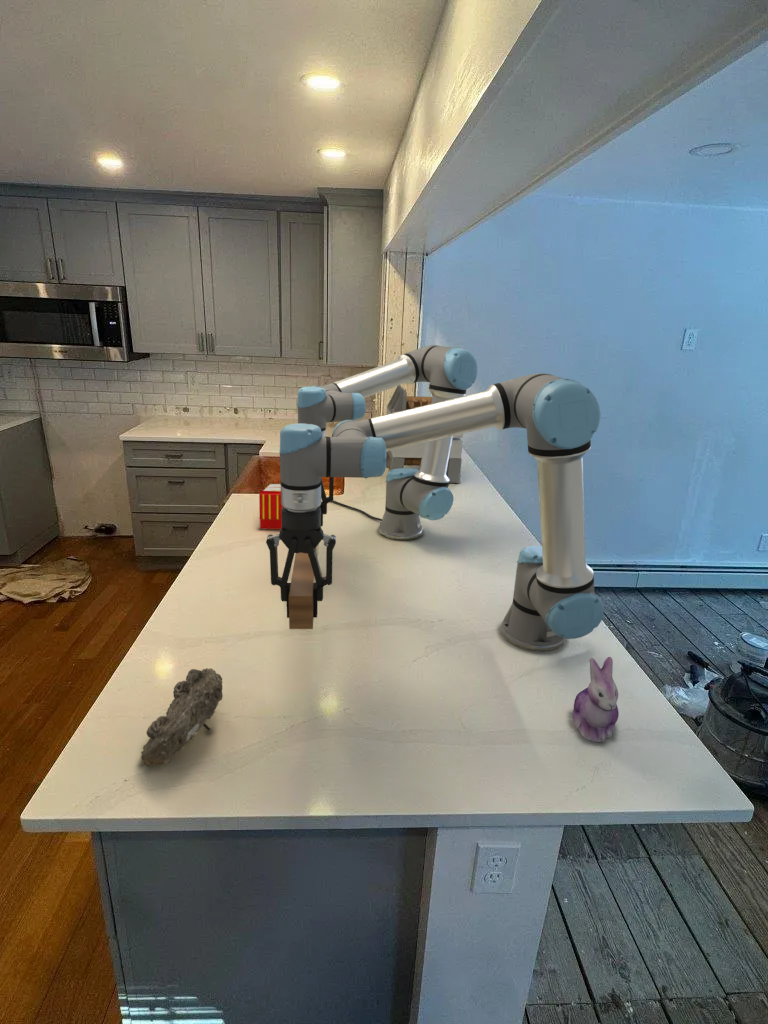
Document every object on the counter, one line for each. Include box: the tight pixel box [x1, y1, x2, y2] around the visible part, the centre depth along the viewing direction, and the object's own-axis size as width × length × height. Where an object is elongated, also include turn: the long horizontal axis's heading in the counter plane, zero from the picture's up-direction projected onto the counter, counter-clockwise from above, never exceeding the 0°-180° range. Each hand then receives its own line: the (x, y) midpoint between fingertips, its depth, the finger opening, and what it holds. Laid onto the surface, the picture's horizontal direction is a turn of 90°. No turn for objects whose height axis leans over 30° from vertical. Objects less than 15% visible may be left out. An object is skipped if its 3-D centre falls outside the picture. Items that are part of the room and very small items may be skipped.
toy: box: [258, 483, 283, 530], centre depth 210 cm, size 12×13×30 cm
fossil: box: [140, 667, 224, 767], centre depth 103 cm, size 22×10×15 cm
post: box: [288, 506, 320, 630], centre depth 138 cm, size 60×5×7 cm, turn 5°
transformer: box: [385, 385, 464, 484], centre depth 268 cm, size 34×33×41 cm
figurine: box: [571, 656, 620, 743], centre depth 107 cm, size 9×10×15 cm
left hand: (312, 524), depth 163 cm, fingers closed on post, 5 cm apart
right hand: (302, 614), depth 115 cm, fingers closed on post, 5 cm apart
